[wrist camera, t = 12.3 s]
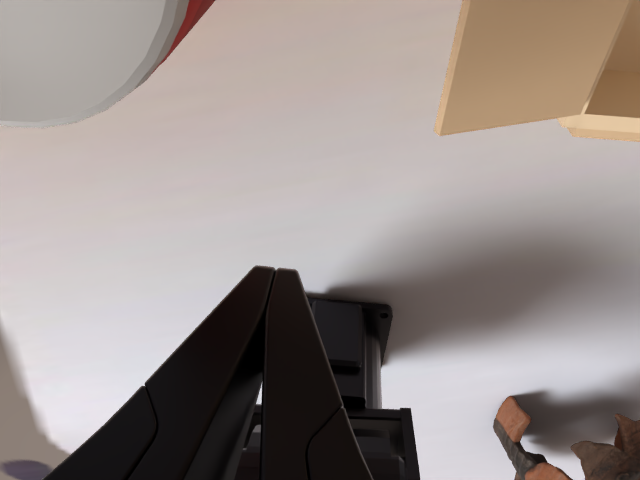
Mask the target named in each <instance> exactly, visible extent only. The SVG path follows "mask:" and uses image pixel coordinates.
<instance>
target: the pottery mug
mask: <svg viewBox="0 0 640 480" xmlns="http://www.w3.org/2000/svg"><path fill="white" fill-rule="evenodd" d="M615 418H616V420H617V422H618V426H619V429H618V432H617V435H616V437H615V442H614V445H615V446H613V445H611V444H605V443H593V442H590V441H581V442H579V443H576V444H574V445H572V446H571V450H572V451H573V452H574V453H575V454H576V456H577V457H578V458H579V459H580V460H581V466H582V469H583V472H584V474H585V480H640V420H638V421H632V420H631V419H629V418H627V417H625V416H622V415H620V414H615ZM530 422H531V418H530V416H529V415H528V414H527V413H526V412H525V411H523V410H522V409H521V408H520V407H519V405H518V403H517V401H516V400H515V399H514V397H513V396H509V397H508V398H507V399H506V400H505V401H504V402H503V403H502V405H501V407H500V408H499V410H498V413H497V415H496V418H495V420H494V425H493V428H494V431H495V433H496V434H497V436H498V437H499V439H500V441H501V443H502V445H503V447H504V449H505V451H506V452H507V455H508V457H509V459H510V460H511V461H512V464H513V466H514V468H515V470H516V471H517V472H516V475H515V480H573V479H571V478H570V477H569V476H568V475H567V474H565V472H563V471H562V470H561V469H559V468H557V467H554V466H553V465H551V464H549V463H547V461H546V459H545V457H544V456H543V455H541V454H533V453H530V452H526V451H525V450H524V449H523V447H522V445H521V443H520V440H521V438H522V434H523V433H524V431H525V429H526V428H527V426H528V425H529V423H530Z"/></svg>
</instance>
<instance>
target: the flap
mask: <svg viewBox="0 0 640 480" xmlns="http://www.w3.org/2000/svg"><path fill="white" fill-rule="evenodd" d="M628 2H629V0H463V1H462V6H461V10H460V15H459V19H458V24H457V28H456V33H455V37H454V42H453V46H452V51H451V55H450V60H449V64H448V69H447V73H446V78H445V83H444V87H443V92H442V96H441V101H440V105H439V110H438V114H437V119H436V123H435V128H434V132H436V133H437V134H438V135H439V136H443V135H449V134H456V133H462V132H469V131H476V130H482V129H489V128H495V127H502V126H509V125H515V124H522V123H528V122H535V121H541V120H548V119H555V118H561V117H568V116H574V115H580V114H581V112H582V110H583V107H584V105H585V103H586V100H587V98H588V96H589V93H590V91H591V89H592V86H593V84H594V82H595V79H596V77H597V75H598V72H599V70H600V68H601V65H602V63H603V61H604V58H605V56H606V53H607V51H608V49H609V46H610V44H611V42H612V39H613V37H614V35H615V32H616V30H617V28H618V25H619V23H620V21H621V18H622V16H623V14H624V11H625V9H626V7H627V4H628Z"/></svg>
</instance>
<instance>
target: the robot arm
mask: <svg viewBox="0 0 640 480" xmlns="http://www.w3.org/2000/svg"><path fill="white" fill-rule="evenodd" d="M392 317H393V315H392V308H391V307H390V306H388V305H384V304H372V303H360V302H349V301H337V300H325V299H314V298H307V296H306V294H305V291H304V288H303V285H302V282H301V279H300V276H299V273H298V271H297V270H295V269H286V268H278V269H277V270H275V268H274V267H268V266H255V267H253V268H252V269H251V270H250V271H249V272H248V274H247V275H246V276H245V277H244V278H243V279H242V280H241V281H240V282H239V283H238V284H237V285H236V286H235V287H234V288H233V290H232V291H231V292H230V293H229V294H228V295H227V296H226V297H225V298H224V299H223V300H222V301H221V302H220V303H219V304H218V305H217V307H216V308H215V309H214V310H213V311H212V312H211V313H210V314H209V315H208V316H207V317H206V318H205V319H204V320H203V321H202V322H201V324H200V325H199V326H198V327H197V328H196V329H195V330H194V331H193V332H192V333H191V334H190V335H189V336H188V337H187V338H186V340H185V341H184V342H183V343H182V344H181V345H180V346H179V347H178V348H177V349H176V350H175V351H174V352H173V353H172V354H171V355H170V357H169V358H168V359H167V360H166V361H165V362H164V363H163V364H162V365H161V366H160V367H159V368H158V369H157V370H156V371H155V373H154V374H153V375H152V376H151V377H150V378H149V379H148V380H147V381H146V382H145V386H141V387H140V388H139V389H138V390H137V391H136V392H135V394H134V395H133V396H132V397H131V398H130V399H129V400H128V401H127V402H126V403H125V404H124V405H123V406H122V407H121V408H120V409H119V410H118V411H117V412H116V413H115V414H114V415H113V416H112V417H111V418H110V419H109V420H108V421H107V422H106V423H105V424H104V425H103V426H102V427H101V428H100V429H99V430H98V431H97V432H95V433H94V434H93V435H92V436H91V437H90V438H89V439H88V440H87V441H85V442H84V443H83V444H82V445H81V446H80V447H79V448H78V449H77V450H76V451H74V452H73V453H72V454H71V455H70V456H69V457H68V458H67V459H65V460H64V461H63V462H62V463H61V464H59V465H58V466H57V467H56V468H55V469H54V470H53V471H51V472H50V473H49V474H48V475H47V476H46V477H44V478H43V479H42V480H420V473H419V465H418V458H417V451H416V444H415V436H414V429H413V422H412V415H411V408H400V410H397V409H382V397H381V367H382V362H383V358H384V353H385V349H386V344H387V340H388V335H389V330H390V326H391V321H392ZM261 384H262V404H256V401H257V398H258V395H259V391H260V388H261Z"/></svg>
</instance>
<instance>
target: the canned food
mask: <svg viewBox="0 0 640 480" xmlns="http://www.w3.org/2000/svg"><path fill="white" fill-rule="evenodd" d="M214 1H215V0H0V125H1V126H6V127H23V128H48V127H53V126H59V125H65V124H71V123H77V122H79V121H81V120H84V119H86V118H89V117H91V116H93V115H96V114H98V113H100V112H103V111H105V110H107V109H109V108H110V107H111V106H112V105H114V104H115V103H116V102H118V101H120V100H121V99H122V98H124V97H125V96H126V95H128V94H129V93H130V92H132V91H133V90H134V89H136V88H137V87H138V86H140V85H141V84H142V83H144V82H145V81H146V80H147V79H148V78H149V77H150V75H151V74H152V73H153V72H154V71H155V70H156V68H157V67H158V66H159V65H160V64H162V63H163V62H164V61H165V60H166V59H167V57H168V56H169V55H170V54H171V53H172V51H173V50H174V49H175V48H176V47H177V45H178V44H179V43H180V42H181V41H182V40H183V38H184V37H185V36H186V35H187V34H188V32H189V31H190V30H191V29H192V28H193V26H194V25H195V24H196V23H197V22H198V20H199V19H200V18H201V17H202V16H203V14H204V13H205V12H206V11H207V10H208V9H209V7H210V6H211V5H212V4H213V3H214Z"/></svg>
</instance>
